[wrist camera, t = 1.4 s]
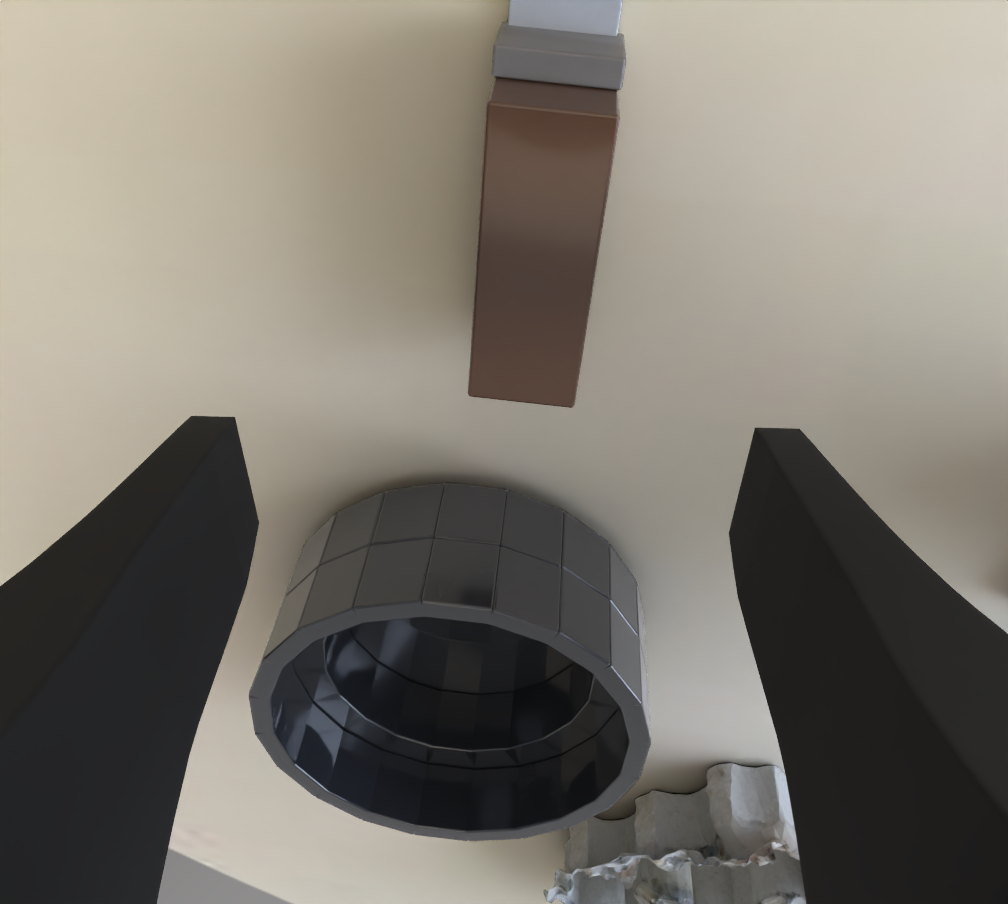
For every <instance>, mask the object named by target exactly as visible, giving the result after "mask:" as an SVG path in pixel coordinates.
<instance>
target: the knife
mask: <svg viewBox="0 0 1008 904" xmlns="http://www.w3.org/2000/svg"><path fill="white" fill-rule="evenodd" d="M622 1H623V0H510V1H509V14H508V22H502V23H501V26H500V29H499V32H498V35H497V38H496V41H495V44H494V46H493V60H492V76H494V77H495V78H494V81H493V85H492V88H491V91H490V95H489V98H488V101H487V106H486V122H485V137H484V153H483V168H482V184H481V199H480V215H479V230H478V246H477V261H476V277H475V292H474V308H473V323H472V339H471V354H470V369H469V385H468V394H469V396H472V397H481V398H490V399H498V400H507V401H516V402H525V403H534V404H543V405H552V406H561V407H570V408H572V407H573V406H574V405H575V399H576V392H577V386H578V380H579V373H580V367H581V361H582V354H583V348H584V341H585V335H586V329H587V322H588V316H589V310H590V303H591V297H592V291H593V284H594V278H595V272H596V265H597V259H598V253H599V246H600V240H601V233H602V227H603V221H604V214H605V208H606V202H607V195H608V189H609V183H610V176H611V170H612V164H613V157H614V151H615V144H616V138H617V132H618V125H619V119H620V116H619V98H618V90H620V89H621V88H622V84H623V78H624V71H625V65H626V54H625V43H624V35H622V34H618V28H619V21H620V15H621V8H622Z"/></svg>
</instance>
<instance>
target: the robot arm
mask: <svg viewBox="0 0 1008 904" xmlns="http://www.w3.org/2000/svg"><path fill="white" fill-rule="evenodd" d="M258 525H259V521H258V516H257V512H256V508H255V503H254V499H253V494H252V490H251V486H250V481H249V477H248V473H247V468H246V464H245V459H244V455H243V451H242V446H241V442H240V438H239V433H238V429H237V425H236V420H235V417H208V416H191V417H190V418H189V419H188V420H186V421H185V422H184V423H183V424H182V425H181V426H180V427H179V428H178V429H177V430H176V431H175V432H174V433H173V434H172V435H171V436H170V437H169V438H168V439H166V440H165V441H164V442H163V443H162V444H161V445H160V446H159V447H158V448H157V449H156V450H155V451H154V452H153V453H152V454H151V455H150V456H149V457H148V458H147V459H146V460H145V461H144V462H143V463H142V464H141V465H140V466H139V467H138V468H137V469H136V470H135V471H134V472H133V473H131V474H130V475H129V476H128V477H127V478H126V479H125V480H124V481H123V482H122V483H121V484H120V485H119V486H118V487H117V488H116V489H115V490H114V491H112V492H111V493H110V494H109V495H108V496H107V497H106V498H105V499H104V500H103V501H102V502H101V503H100V504H99V505H97V506H96V507H95V508H94V509H93V510H92V511H91V512H90V513H89V514H88V515H87V516H86V517H84V518H83V519H82V520H81V521H80V522H78V523H77V524H76V525H75V526H74V527H73V528H71V529H70V530H69V531H68V532H67V533H66V534H64V535H63V536H62V537H61V538H60V539H59V540H57V541H56V542H55V543H54V544H53V545H51V546H50V547H49V548H48V549H47V550H46V551H44V552H43V553H42V554H41V555H40V556H39V557H37V558H36V559H35V560H34V561H33V562H31V563H30V564H29V565H27V566H26V567H25V568H24V569H22V570H21V571H20V572H19V573H17V574H16V575H15V576H13V577H12V578H11V579H9V580H8V581H7V582H5V583H4V584H3V585H1V586H0V904H157V899H158V893H159V888H160V883H161V879H162V874H163V869H164V864H165V859H166V855H167V850H168V846H169V841H170V837H171V832H172V827H173V822H174V818H175V814H176V809H177V805H178V801H179V797H180V792H181V788H182V784H183V779H184V775H185V771H186V767H187V762H188V758H189V754H190V751H191V747H192V744H193V741H194V737H195V734H196V731H197V727H198V724H199V721H200V718H201V715H202V713H203V710H204V707H205V704H206V701H207V698H208V695H209V693H210V690H211V687H212V684H213V681H214V678H215V676H216V673H217V670H218V667H219V664H220V661H221V658H222V656H223V653H224V650H225V647H226V644H227V641H228V639H229V636H230V633H231V630H232V627H233V624H234V621H235V618H236V615H237V612H238V609H239V606H240V604H241V601H242V598H243V595H244V591H245V588H246V585H247V580H248V576H249V571H250V567H251V562H252V557H253V552H254V547H255V541H256V536H257V531H258ZM729 537H730V545H731V552H732V560H733V568H734V574H735V581H736V587H737V594H738V599H739V602H740V606H741V610H742V614H743V617H744V621H745V625H746V628H747V632H748V636H749V639H750V643H751V646H752V650H753V653H754V657H755V660H756V664H757V668H758V671H759V675H760V678H761V682H762V685H763V689H764V692H765V696H766V699H767V703H768V706H769V710H770V713H771V717H772V720H773V724H774V727H775V731H776V734H777V738H778V743H779V747H780V751H781V755H782V760H783V764H784V769H785V774H786V780H787V786H788V792H789V798H790V803H791V809H792V815H793V821H794V827H795V832H796V839H797V846H798V852H799V859H800V865H801V872H802V878H803V885H804V891H805V898H806V904H1008V634H1007V633H1006V632H1005V631H1004V630H1002V629H1001V628H1000V627H999V626H997V625H996V624H995V623H994V622H992V621H991V620H990V619H989V618H987V617H986V616H985V615H984V614H982V613H981V612H980V611H979V610H978V609H976V608H975V607H974V606H973V605H971V604H970V603H969V602H968V601H967V600H966V599H964V598H963V597H962V596H961V595H960V594H959V593H958V592H956V591H955V590H954V589H953V588H952V587H951V586H950V585H949V584H947V583H946V582H945V581H944V580H943V579H942V578H941V577H940V576H939V575H938V574H937V573H936V572H935V571H933V570H932V569H931V568H930V567H929V566H928V565H927V564H926V563H925V562H924V561H923V560H922V559H921V558H920V557H918V556H917V555H916V554H915V553H914V552H913V551H912V550H911V549H910V548H909V547H908V546H907V545H906V544H905V543H904V542H903V541H902V540H901V539H900V538H899V537H898V536H897V535H896V534H895V533H894V532H893V531H892V530H891V529H890V528H889V527H888V526H887V525H886V524H885V522H884V521H883V520H882V519H881V518H880V517H879V516H878V515H877V514H876V513H875V512H874V511H873V510H872V509H871V508H870V507H869V506H868V505H867V503H866V502H865V501H864V500H863V499H862V498H861V497H860V496H859V495H858V494H857V493H856V492H855V490H854V489H853V488H852V487H851V486H850V485H849V484H848V483H847V482H846V480H845V479H844V478H843V477H842V476H841V475H840V474H839V473H838V471H837V470H836V469H835V468H834V467H833V466H832V465H831V464H830V462H829V461H828V460H827V459H826V458H825V457H824V456H823V455H822V453H821V452H820V451H819V450H818V449H817V448H816V447H815V445H814V444H813V443H812V442H811V441H810V440H809V439H808V438H807V437H806V435H805V434H804V433H803V432H802V431H801V430H800V429H787V428H755V430H754V434H753V438H752V442H751V446H750V450H749V454H748V458H747V462H746V466H745V470H744V474H743V478H742V482H741V486H740V490H739V494H738V498H737V502H736V506H735V510H734V515H733V519H732V523H731V527H730V531H729Z"/></svg>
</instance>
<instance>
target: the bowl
mask: <svg viewBox="0 0 1008 904" xmlns="http://www.w3.org/2000/svg"><path fill="white" fill-rule="evenodd" d="M249 700H250V706H251V712H252V718H253V724H254V730H255V734H256V736H257V737H258V739H259V740H260V742H261V743H262V745H263V746H264V748H265V749H266V751H267V752H268V754H269V755H270V756H271V758H272V759H273V761H274V762H275V764H276V765H277V767H279V768H280V769H281V770H282V771H283V772H285V773H286V774H287V775H288V776H290V777H291V778H292V779H293V780H295V781H296V782H297V783H298V784H300V785H301V786H302V787H303V788H305V789H306V790H307V791H308V792H310V793H311V794H312V795H313V796H316V797H317V798H318V799H321V800H323V801H325V802H327V803H329V804H331V805H333V806H335V807H337V808H339V809H341V810H343V811H345V812H347V813H349V814H351V815H353V816H355V817H357V818H359V819H362V820H364V821H367V822H371V823H374V824H378V825H381V826H385V827H388V828H392V829H395V830H399V831H402V832H406V833H409V834H415V835H421V836H429V837H438V838H446V839H454V840H463V841H468V840H469V841H484V840H506V839H521V838H528V837H532V836H536V835H541V834H545V833H549V832H553V831H558V830H562V829H566V828H570V827H573V826H575V825H577V824H579V823H581V822H583V821H585V820H587V819H589V818H591V817H593V816H595V815H597V814H599V813H601V812H603V811H605V810H607V809H609V808H611V806H613V805H614V804H615V803H616V802H617V801H618V800H619V799H620V798H621V797H622V796H623V795H624V794H625V793H626V792H627V791H628V790H629V789H630V788H631V787H632V786H633V785H634V784H635V783H636V782H637V781H638V780H639V778H640V776H641V773H642V770H643V767H644V764H645V761H646V757H647V754H648V751H649V748H650V745H651V730H650V711H649V692H648V676H647V654H646V635H645V618H644V613H643V608H642V604H641V599H640V594H639V590H638V585H637V582H636V581H635V578H634V577H633V575H632V574H631V573H630V571H629V570H628V568H627V567H626V566H625V564H624V563H623V561H622V560H621V559H620V557H619V556H618V555H617V553H616V552H615V550H614V549H613V548H612V546H611V545H610V544H609V543H608V541H607V540H605V539H604V538H603V537H601V536H600V535H598V534H597V533H596V532H594V531H593V530H591V529H590V528H589V527H587V526H586V525H584V524H583V523H582V522H580V521H579V520H577V519H576V518H575V517H573V516H572V515H570V514H569V513H568V512H566V511H563V510H561V509H559V508H556V507H553V506H551V505H548V504H545V503H542V502H540V501H537V500H534V499H532V498H529V497H526V496H523V495H521V494H518V493H515V492H513V491H510V490H508V491H507V490H506V489H500V488H491V487H482V486H474V485H465V484H456V483H445V484H444V483H437V484H430V485H422V486H415V487H407V488H400V489H392V490H387V491H386V492H381V493H379V494H377V495H375V496H372V497H370V498H368V499H365V500H363V501H361V502H358V503H356V504H354V505H352V506H349V507H347V508H345V509H342V510H340V511H339V512H337V513H335V514H334V515H333V516H332V517H331V518H330V519H329V520H328V521H327V522H326V523H325V524H324V525H323V526H322V527H321V528H320V529H319V530H318V531H316V532H315V533H314V534H313V535H312V536H311V537H310V538H309V539H308V540H307V541H306V543H305V544H304V545H303V548H302V551H301V553H300V556H299V558H298V561H297V564H296V566H295V569H294V571H293V574H292V577H291V579H290V582H289V585H288V588H287V590H286V593H285V596H284V598H283V601H282V604H281V607H280V609H279V612H278V615H277V618H276V620H275V623H274V626H273V629H272V631H271V634H270V637H269V639H268V642H267V645H266V648H265V650H264V653H263V656H262V659H261V661H260V664H259V667H258V670H257V672H256V675H255V678H254V680H253V683H252V686H251V689H250V691H249Z"/></svg>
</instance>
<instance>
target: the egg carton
mask: <svg viewBox="0 0 1008 904" xmlns="http://www.w3.org/2000/svg"><path fill="white" fill-rule="evenodd" d="M707 782H708V784H707V786H706V787H704V788H703V789H701V790H700V791H698V792H695V793H693V794H690V795H682V794H677V795H674V794H668V793H664V792H660V791H654V790H652V791H651V792H650V793H649V794H647V795H644V796H640V797H638V798H636V799H635V804H636V812H635V814H633V815H632V816H631V817H628V818H626V819H624V820H616V821H607V820H606V821H605V820H601V819H598V818H595V817H591V818H589V819H587V820H585V821H583V822H581V823H579V824H577V825H575V826H573V827H570V828H569V831H570V839H569V840H568V842H567V844H566V846H565V872H564V871H562V870H561V869H560V870H557V871H556V873H555V886H554V887H553V888H551V889H550V890H549V891H546V890H544V895H545V897H546V900H547V901H548V902H550V903H552V902H553V900H554V899H555V897H556V898H557V899H559V900H560V901H561V902H563V904H806V898H805V891H804V885H803V878H802V872H801V865H800V859H799V852H798V846H797V839H796V832H795V827H794V821H793V815H792V809H791V803H790V798H789V792H788V786H787V780H786V776H785V774H784V773H782V772H781V770H780V769H779V768H777V767H776V766H763V767H758V768H753V767H744V766H739V765H736V764H733V763H728V764H720V765H715V766H713V767H712V768H710V769H709V770H708V771H707Z"/></svg>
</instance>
